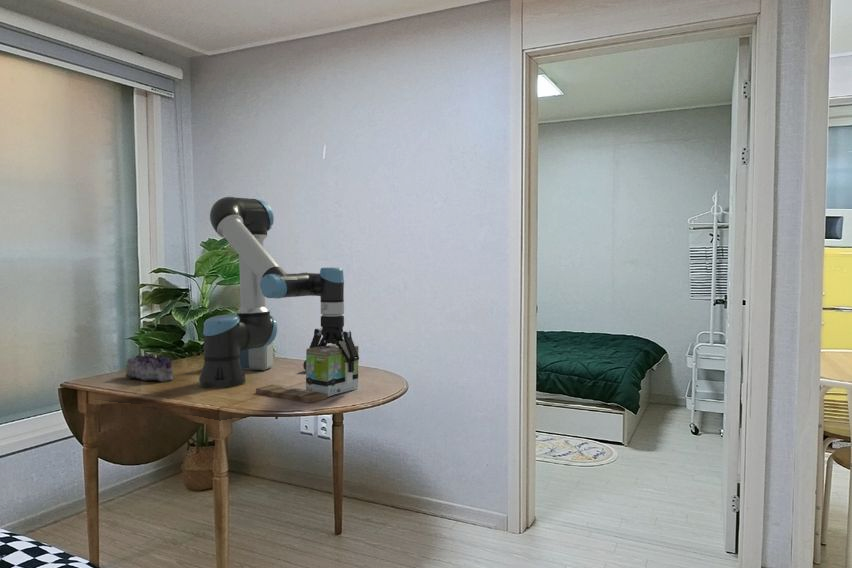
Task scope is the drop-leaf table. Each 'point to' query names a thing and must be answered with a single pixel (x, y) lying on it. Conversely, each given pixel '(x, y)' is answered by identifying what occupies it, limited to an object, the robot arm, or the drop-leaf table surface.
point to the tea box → (328, 370)
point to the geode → (150, 368)
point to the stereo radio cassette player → (257, 358)
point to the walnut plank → (291, 393)
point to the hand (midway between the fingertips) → (332, 379)
